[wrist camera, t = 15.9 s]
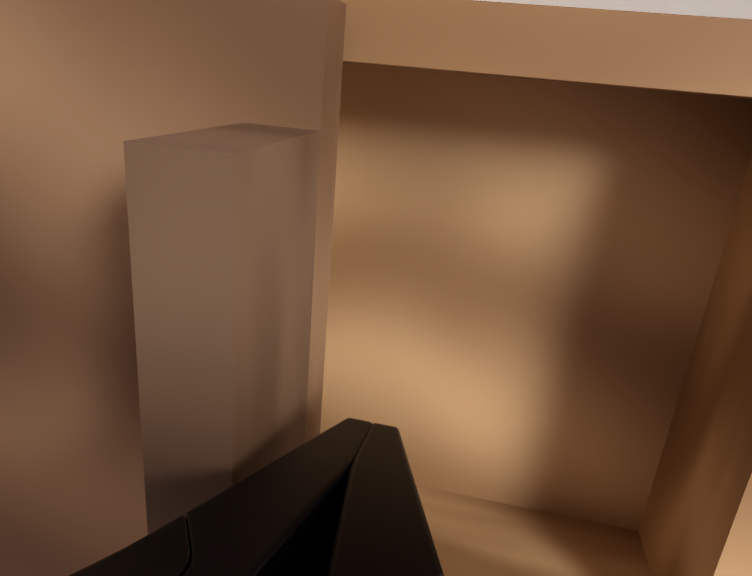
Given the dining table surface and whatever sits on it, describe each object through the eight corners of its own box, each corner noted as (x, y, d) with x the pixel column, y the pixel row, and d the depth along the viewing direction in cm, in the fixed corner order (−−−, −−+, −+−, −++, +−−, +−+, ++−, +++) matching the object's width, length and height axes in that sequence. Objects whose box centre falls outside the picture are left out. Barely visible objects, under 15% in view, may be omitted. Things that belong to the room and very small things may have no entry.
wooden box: (659, 541, 17) (716, 716, 12) (263, 458, 19) (183, 582, 14) (815, 54, 12) (1002, 37, 8) (273, 12, 14) (161, -21, 10)
